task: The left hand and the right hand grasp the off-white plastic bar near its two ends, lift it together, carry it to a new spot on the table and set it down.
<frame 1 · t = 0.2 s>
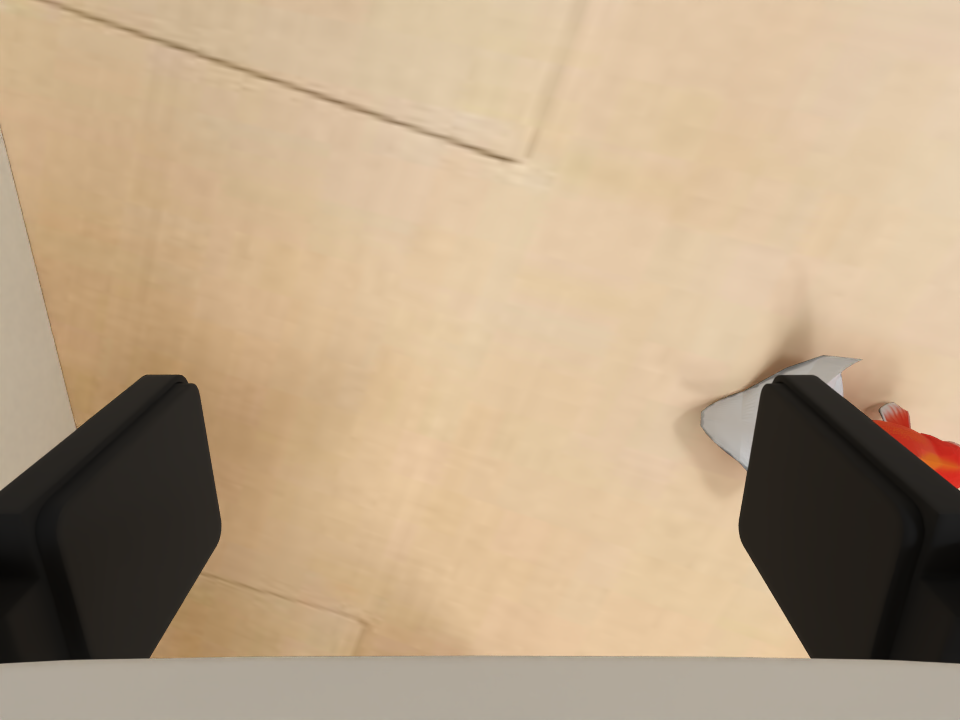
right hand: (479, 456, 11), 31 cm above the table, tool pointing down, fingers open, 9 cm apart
fish: (801, 419, 45), on the table
bar: (51, 448, 46), on the table
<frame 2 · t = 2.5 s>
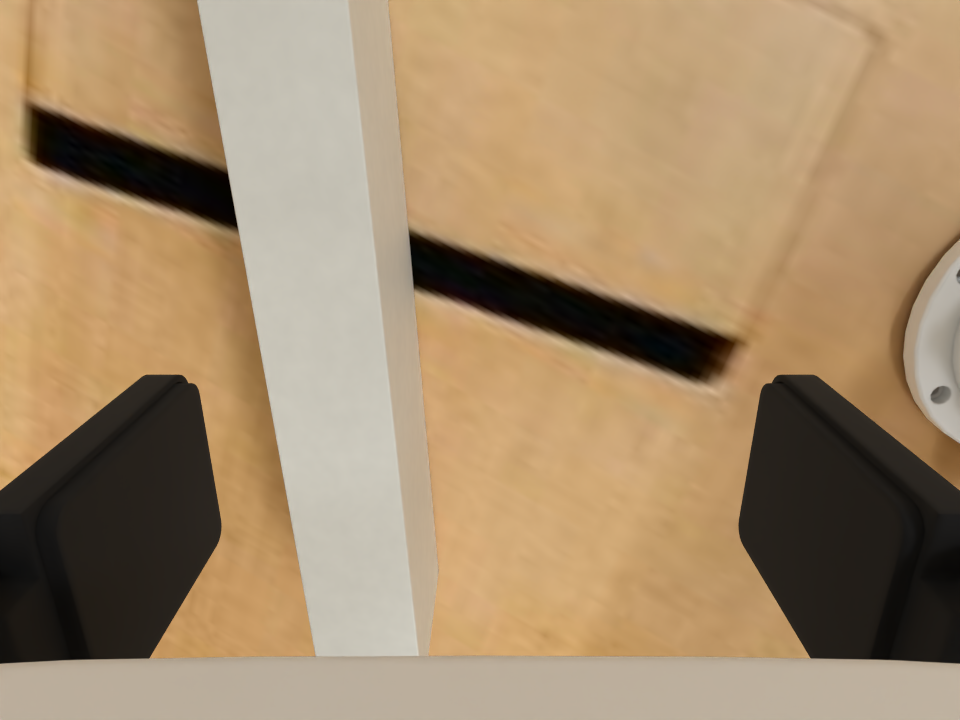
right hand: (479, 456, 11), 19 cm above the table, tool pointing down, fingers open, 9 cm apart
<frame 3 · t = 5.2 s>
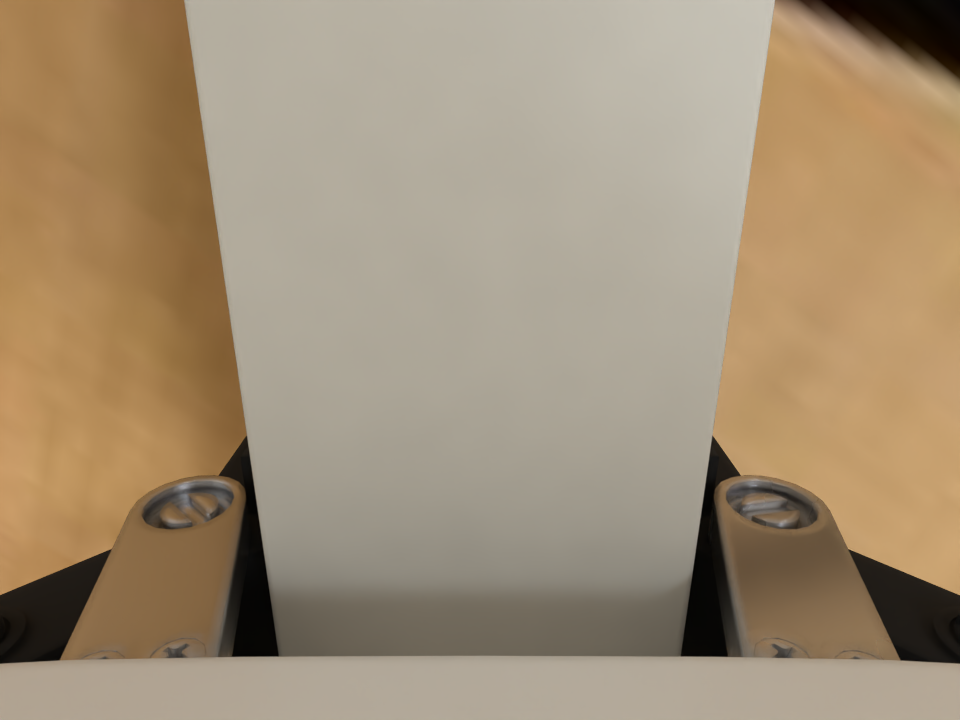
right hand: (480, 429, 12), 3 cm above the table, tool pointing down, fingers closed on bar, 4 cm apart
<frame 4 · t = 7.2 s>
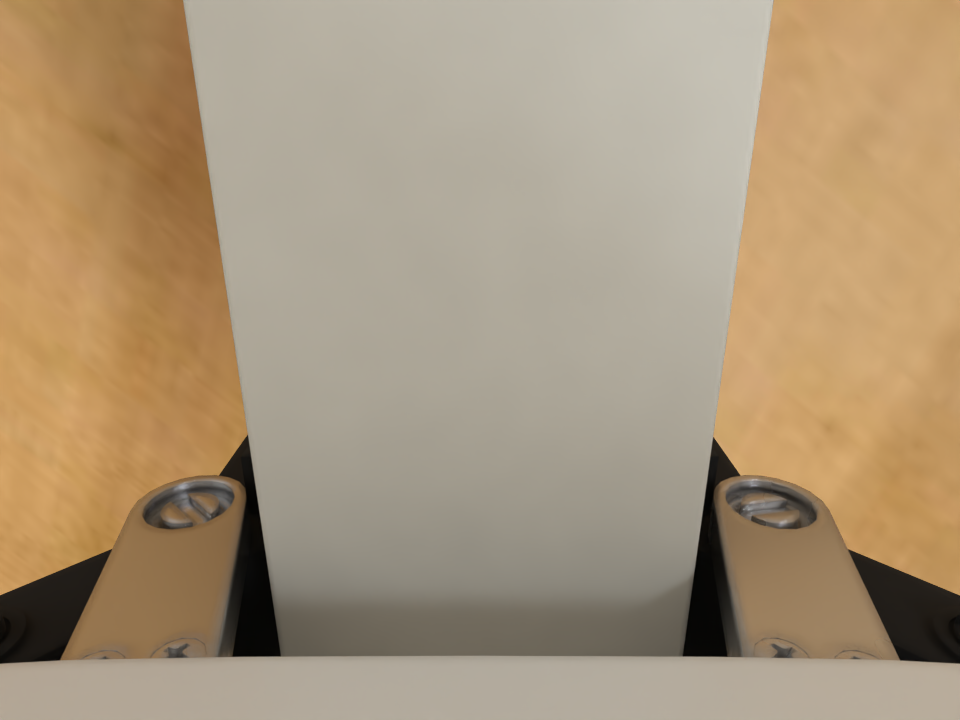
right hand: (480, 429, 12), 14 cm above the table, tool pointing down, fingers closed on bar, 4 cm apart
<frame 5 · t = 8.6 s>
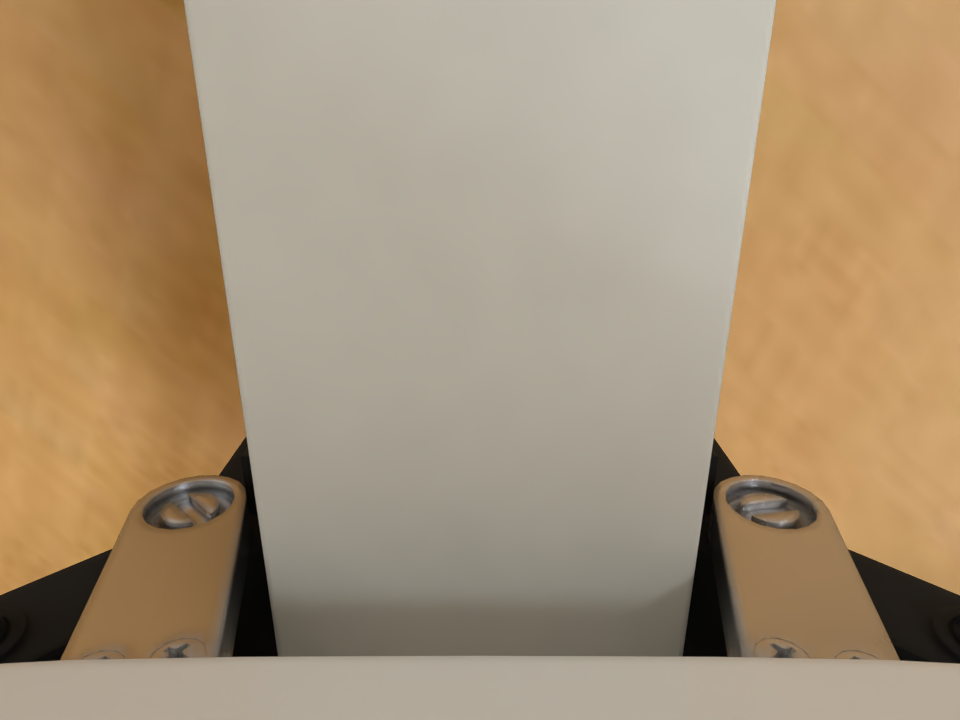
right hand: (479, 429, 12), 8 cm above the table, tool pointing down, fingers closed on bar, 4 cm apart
when the right hand's fingers open (3 cm above the table, at t = 9.4 s): bar stays where it is, on the table.
when the left hand's fingers open (4 cm above the table, at t = 9.5 s): bar stays where it is, on the table.
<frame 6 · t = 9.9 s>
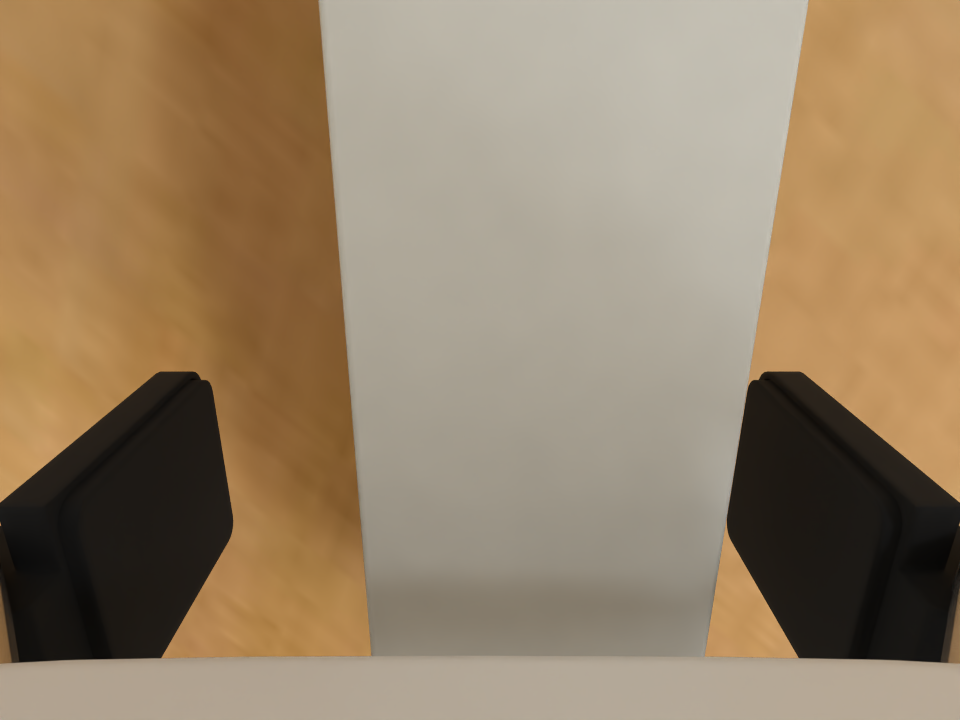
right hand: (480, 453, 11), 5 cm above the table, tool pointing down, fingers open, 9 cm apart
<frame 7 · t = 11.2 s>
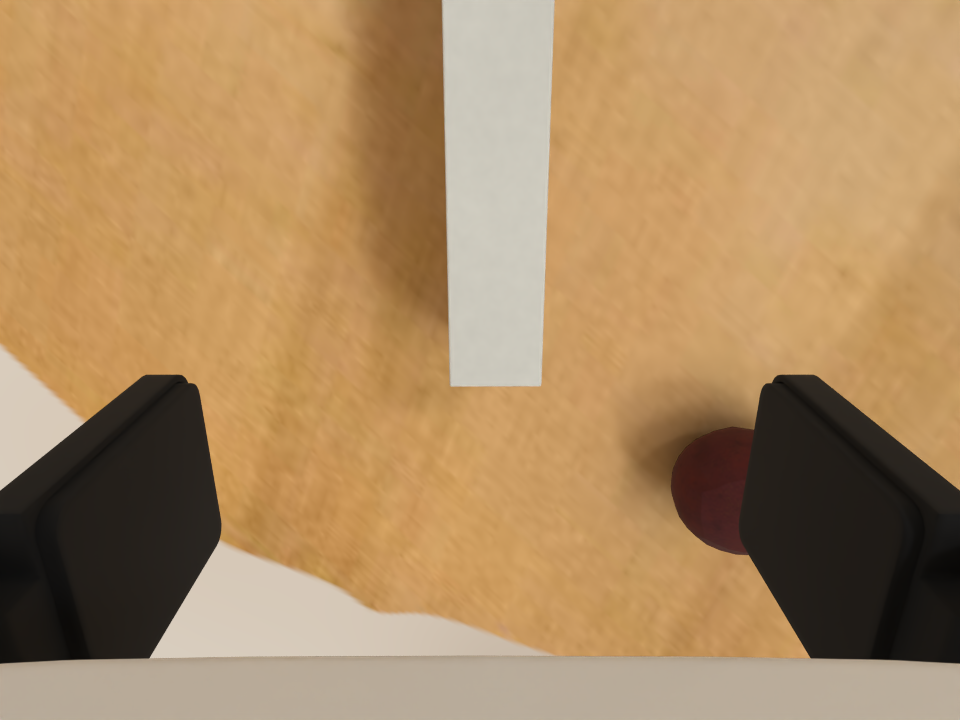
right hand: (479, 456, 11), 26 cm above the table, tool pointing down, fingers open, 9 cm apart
potato: (719, 458, 41), on the table
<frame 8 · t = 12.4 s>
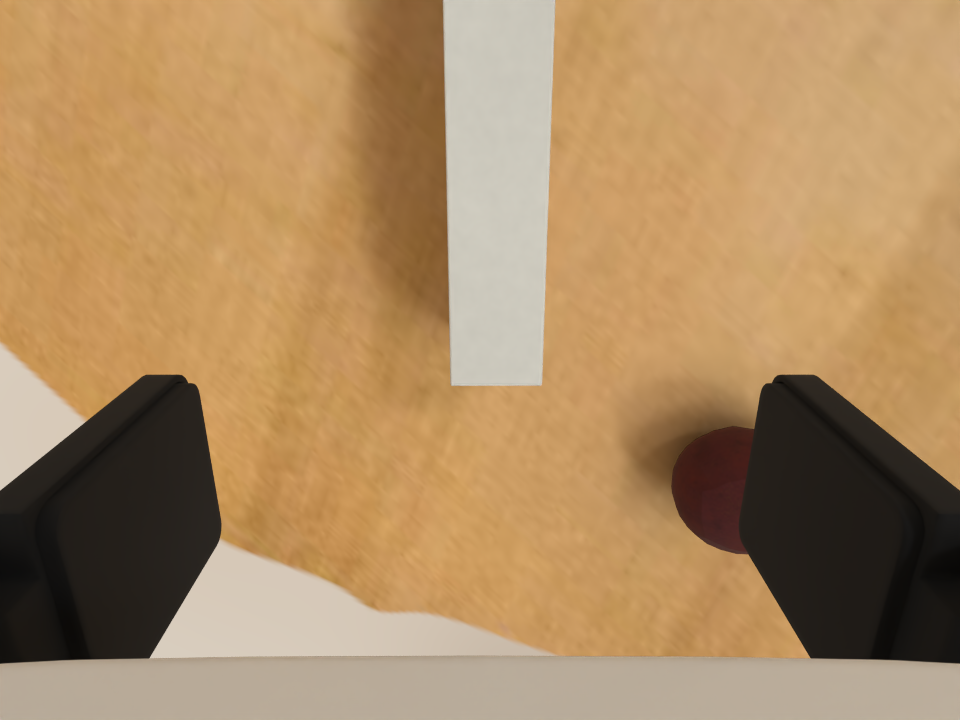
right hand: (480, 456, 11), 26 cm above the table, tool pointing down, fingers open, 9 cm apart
potato: (719, 457, 41), on the table
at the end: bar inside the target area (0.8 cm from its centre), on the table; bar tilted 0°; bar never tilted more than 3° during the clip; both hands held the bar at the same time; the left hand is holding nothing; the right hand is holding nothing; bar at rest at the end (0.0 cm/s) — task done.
